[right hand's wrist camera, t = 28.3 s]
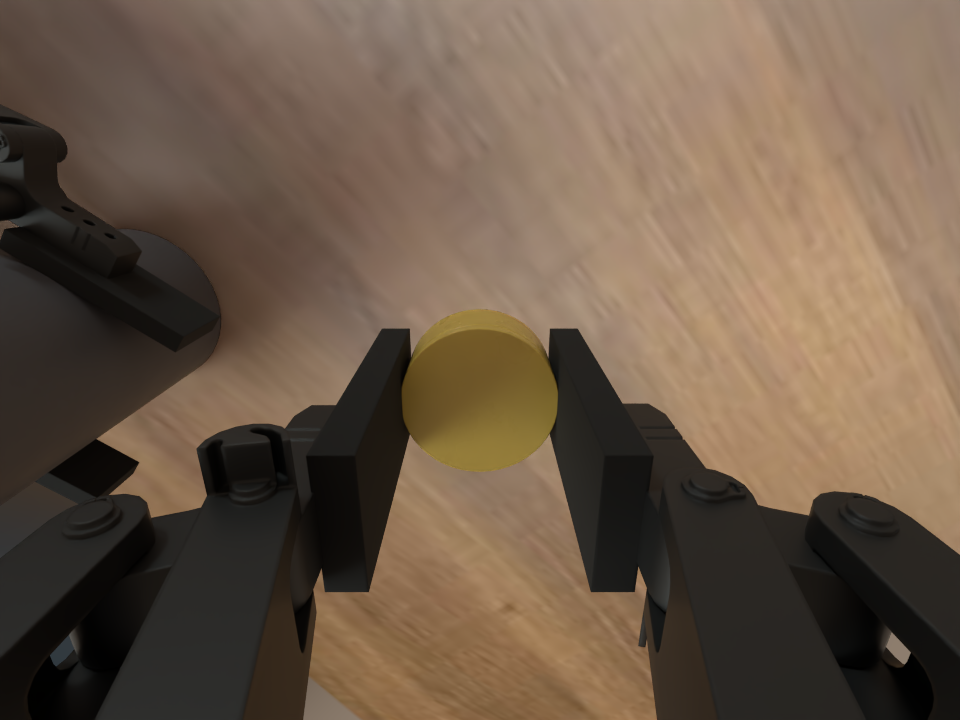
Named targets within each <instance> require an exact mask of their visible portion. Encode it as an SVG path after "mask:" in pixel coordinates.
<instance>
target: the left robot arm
mask: <svg viewBox="0 0 960 720" xmlns="http://www.w3.org/2000/svg"><path fill="white" fill-rule="evenodd" d="M66 155H67V145H66V142H65V140H64V139H63V137H62V136H61V135H60V134H59V133H58V132H56V131H55V130H53V129H51V128H49V127H47V126H45V125H43V124H41V123H39V122H37V121H34V120H32V119H30V118H28V117H26V116H24V115H22V114H20V113H17V112H15V111H13V110H11V109H9V108H7V107H5V106H3V105H1V104H0V221H4V220H9V221H11V222H12V223H14V224H16V225H17V226H19V227H16V228H8V229H4V232H3V235H2V237H1V240H0V249H2V250H3V251H5V252H7V253H8V254H10V255H12V256H13V257H15V258H17V259H18V260H20V261H22V262H23V263H25V264H27V265H29V266H30V267H32V268H34V269H35V270H37V271H39V272H40V273H42V274H44V275H45V276H47V277H49V278H50V279H52V280H54V281H56V282H57V283H59V284H61V285H62V286H64V287H66V288H67V289H69V290H71V291H72V292H74V293H76V294H77V295H79V296H81V297H82V298H84V299H86V300H88V301H89V302H91V303H93V304H94V305H96V306H98V307H99V308H101V309H103V310H104V311H106V312H108V313H109V314H111V315H113V316H115V317H116V318H118V319H120V320H121V321H123V322H125V323H126V324H128V325H130V326H131V327H133V328H135V329H136V330H138V331H140V332H142V333H143V334H145V335H147V336H148V337H150V338H152V339H153V340H155V341H157V342H158V343H160V344H162V345H163V346H165V347H167V348H168V349H170V350H172V351H174V352H175V353H176V352H177V351H179V350H181V349H182V348H184V347H186V346H187V345H189V344H191V343H192V342H194V341H196V340H197V339H199V338H201V337H202V336H204V335H206V334H207V333H209V332H211V331H212V330H213V329H214V327H215V325H216V323H217V321H218V320H219V318H220V316H219V315H217V314H216V313H214V312H213V311H211V310H209V309H208V308H206V307H205V306H203V305H201V304H200V303H198V302H196V301H195V300H193V299H192V298H190V297H188V296H187V295H185V294H184V293H182V292H180V291H179V290H177V289H176V288H174V287H172V286H171V285H169V284H167V283H166V282H164V281H163V280H161V279H159V278H158V277H156V276H155V275H153V274H151V273H150V272H148V271H147V270H145V269H143V268H142V267H140V266H138V265H137V264H136V263H137V261H138V259H139V257H140V255H141V253H142V250H141V249H140V248H139V247H138V246H137V244H136V243H135V242H134V241H133V240H132V239H131V238H130V237H128V236H126V235H125V234H123V233H122V232H120V231H118V230H116V229H115V228H114V227H112V226H110V225H109V224H106V223H105V222H104V221H103V220H101V219H99V218H98V217H96V216H95V215H93V214H91V213H90V212H88V211H87V210H85V209H83V208H82V207H80V206H79V205H77V204H76V203H74V202H72V201H71V200H70V199H68V198H67V197H66V195H65V193H64V191H63V190H62V189H61V188H60V186H59V184H58V179H57V163H59V162H61V161H63V160H64V159H65V158H66ZM138 464H139V462H138V461H136V460H134V459H132V458H130V457H128V456H127V455H125V454H123V453H121V452H119V451H117V450H116V449H114V448H112V447H110V446H108V445H106V444H104V443H103V442H101V441H99V440H97V439H95V440H94V441H92V442H91V443H89V444H88V445H87V446H85V447H84V448H82V449H81V450H79V451H78V452H77V453H75V454H74V455H72V456H71V457H69V458H68V459H66V460H65V461H64V462H62V463H61V464H59V465H58V466H56V467H55V468H54V469H52V470H51V471H49V472H48V473H46V474H45V475H44V476H42V477H41V478H39V479H38V480H36V481H35V482H37V483H39V484H41V485H43V486H44V487H46V488H48V489H50V490H52V491H54V492H56V493H58V494H60V495H62V496H64V497H66V498H68V499H70V500H72V501H74V502H76V503H78V504H80V503H82V502H83V501H86V500H89V499H92V498H98V497H100V496H105V495H109V494H110V493H111V492H112V491H114V490H115V489H116V488H117V487H118V486H119V485H121V484H122V483H123V482H124V481H125V480H126V479H127V478H129V477H130V476H131V475H132V474H133V473H134V471H135V469H136V467H137V466H138Z"/></svg>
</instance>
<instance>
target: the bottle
mask: <svg viewBox="0 0 960 720" xmlns="http://www.w3.org/2000/svg"><path fill="white" fill-rule="evenodd" d="M116 230H118V231H120V232H122V233H123V234H125V235H126V236H128V237H130V238H131V239H132V240H133V241H134V242H135V243H136V244H137V246H138V247H139V248H140V249H141V250H142V253H141V255H140V257H139V259H138V261H137V263H136V264H137V265H138V266H140V267H142V268H143V269H145V270H147V271H148V272H150V273H151V274H153V275H155V276H156V277H158V278H159V279H161V280H163V281H164V282H166V283H167V284H169V285H171V286H172V287H174V288H176V289H177V290H179V291H180V292H182V293H184V294H185V295H187V296H188V297H190V298H192V299H193V300H195V301H196V302H198V303H200V304H201V305H203V306H205V307H206V308H208V309H209V310H211V311H213V312H214V313H216V314H217V315H219V316H220V309H219V304H218V300H217V297H216V294H215V292H214V289H213V287H212V285H211V283H210V282H209V280H208V278H207V277H206V275H205V274H204V272H203V271H202V269H201V268H200V267H199V266H198V265H197V264H196V263H195V261H194V260H193V259H192V258H191V257H189V256H188V255H187V254H186V253H185V252H184V251H182V250H181V249H180V248H178V247H177V246H176V245H174V244H172V243H170V242H169V241H167V240H165V239H163V238H161V237H158V236H156V235H154V234H150V233H147V232H144V231H139V230H133V229H116ZM220 326H221V316H220V318H219V320H218V321H217V323H216V325H215V327H214V329H213V330H212V331H211V332H209V333H207V334H206V335H204V336H202V337H201V338H199V339H197V340H196V341H194V342H192V343H191V344H189V345H187V346H186V347H184V348H182V349H181V350H179V351H177V352H176V353H175V352H174V351H172V350H170V349H168V348H167V347H165V346H163V345H162V344H160V343H158V342H157V341H155V340H153V339H152V338H150V337H148V336H147V335H145V334H143V333H142V332H140V331H138V330H136V329H135V328H133V327H131V326H130V325H128V324H126V323H125V322H123V321H121V320H120V319H118V318H116V317H115V316H113V315H111V314H109V313H108V312H106V311H104V310H103V309H101V308H99V307H98V306H96V305H94V304H93V303H91V302H89V301H88V300H86V299H84V298H82V297H81V296H79V295H77V294H76V293H74V292H72V291H71V290H69V289H67V288H66V287H64V286H62V285H61V284H59V283H57V282H56V281H54V280H52V279H50V278H49V277H47V276H45V275H44V274H42V273H40V272H39V271H37V270H35V269H34V268H32V267H30V266H29V265H27V264H25V263H23V262H22V261H20V260H18V259H17V258H15V257H13V256H12V255H10V254H8V253H7V252H5V251H3V250H2V249H0V506H1V505H2V504H3V503H5V502H6V501H8V500H9V499H11V498H12V497H13V496H15V495H16V494H18V493H19V492H21V491H22V490H23V489H25V488H26V487H28V486H29V485H31V484H32V483H33V482H35V481H36V480H38V479H39V478H41V477H42V476H44V475H45V474H46V473H48V472H49V471H51V470H52V469H54V468H55V467H56V466H58V465H59V464H61V463H62V462H64V461H65V460H66V459H68V458H69V457H71V456H72V455H74V454H75V453H77V452H78V451H79V450H81V449H82V448H84V447H85V446H87V445H88V444H89V443H91V442H92V441H94V440H95V439H97V438H98V437H99V436H101V435H102V434H104V433H105V432H107V431H108V430H109V429H111V428H112V427H114V426H115V425H117V424H118V423H120V422H121V421H122V420H124V419H125V418H127V417H128V416H130V415H131V414H132V413H134V412H135V411H137V410H138V409H140V408H141V407H142V406H144V405H145V404H147V403H148V402H150V401H151V400H152V399H154V398H155V397H157V396H158V395H160V394H161V393H163V392H164V391H165V390H167V389H168V388H170V387H171V386H173V385H174V384H175V383H177V382H178V381H180V380H181V379H183V378H184V377H185V376H187V375H188V374H190V373H191V372H193V371H194V370H195V369H197V368H198V367H199V366H201V365H202V364H203V363H204V362H205V361H206V360H207V359H208V358H209V356H210V355H211V354H212V352H213V350H214V348H215V346H216V344H217V341H218V338H219V333H220Z"/></svg>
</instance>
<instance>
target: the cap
mask: <svg viewBox="0 0 960 720" xmlns="http://www.w3.org/2000/svg"><path fill="white" fill-rule="evenodd" d="M401 391H402V409H403V419H404V423H405V425H406V427H407V429H408V431H409V433H410V435H411V436H412V438H413V439H414V441H415V442H416V443H417V444H418V445H419V446H420V448H422V449H423V450H424V451H425V452H426V453H427V454H428V455H430V456H431V457H433V458H434V459H436V460H437V461H439V462H441V463H443V464H445V465H448V466H450V467H453V468H457V469H461V470H466V471H477V472H483V471H493V470H499V469H503V468H506V467H509V466H512V465H514V464H516V463H518V462H520V461H522V460H524V459H525V458H527V457H528V456H530V455H531V454H532V453H533V452H535V451H536V450H537V449H538V448H539V447H540V446H541V445H542V443H543V442H544V441H545V440H546V438H547V437H548V435H549V433H550V432H551V430H552V428H553V426H554V423H555V421H556V417H557V403H558V387H557V382H556V379H555V376H554V373H553V370H552V368H551V365H550V362H549V359H548V356H547V354H546V351H545V349H544V347H543V345H542V343H541V342H540V340H539V339H538V337H537V336H536V335H535V334H534V333H533V331H532V330H531V329H530V328H528V327H527V326H526V325H525V324H524V323H522V322H520V321H519V320H517V319H516V318H514V317H511V316H509V315H507V314H504V313H501V312H498V311H492V310H481V309H477V310H467V311H462V312H458V313H455V314H452V315H450V316H448V317H446V318H444V319H442V320H440V321H439V322H437V323H436V324H434V325H433V326H432V327H431V328H430V329H429V330H428V331H427V332H426V333H425V334H424V335H423V336H422V338H421V339H420V341H419V342H418V344H417V345H416V348H415V350H414V352H413V354H412V357H411V360H410V363H409V365H408V368H407V371H406V374H405V377H404V380H403V383H402V388H401Z"/></svg>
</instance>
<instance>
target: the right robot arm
mask: <svg viewBox="0 0 960 720" xmlns="http://www.w3.org/2000/svg"><path fill="white" fill-rule="evenodd" d="M548 359H549V362H550V365H551V368H552V370H553V373H554V376H555V379H556V382H557V387H558V403H557V417H556V421H555V423H554V426H553V428H552V430H551V432H550V437H551V441H552V444H553V448H554V452H555V456H556V460H557V464H558V467H559V471H560V475H561V479H562V483H563V487H564V490H565V494H566V498H567V502H568V506H569V510H570V513H571V517H572V521H573V525H574V529H575V533H576V537H577V540H578V544H579V548H580V552H581V556H582V560H583V563H584V567H585V571H586V575H587V579H588V583H589V586H590V590H591V592H635V586H636V579H637V572H638V566H639V569H640V571H641V574H642V577H643V579H644V582H645V584H646V587H647V591H646V598H645V605H644V611H643V618H642V624H641V631H640V638H639V645H638V646H641V647H645V646H646V640H647V643H648V651H649V659H650V667H651V675H652V683H653V691H654V699H655V707H656V714H657V720H960V555H959V554H958V553H957V552H955V551H954V550H953V549H951V548H950V547H949V546H948V545H946V544H945V543H944V542H942V541H941V540H940V539H938V538H937V537H936V536H935V535H933V534H932V533H931V532H929V531H928V530H927V529H925V528H924V527H923V526H922V525H920V524H919V523H918V522H916V521H915V520H914V519H912V518H911V517H909V516H908V515H906V514H905V513H903V512H901V511H900V510H898V509H897V508H895V507H893V506H891V505H888V504H886V503H884V502H881V501H879V500H878V499H876V498H873V497H870V496H867V495H865V496H863V495H862V494H858V493H847V492H835V491H834V492H829V493H823V494H820V495H819V496H818V497H816V498H815V499H814V500H813V503H812V507H811V511H810V514H809V516H808V515H803V514H798V513H793V512H787V511H782V510H777V509H772V508H768V507H764V506H760V505H758V504H757V502H756V500H755V498H754V496H753V495H752V493H751V492H750V491H749V490H748V489H747V487H746V486H745V485H744V484H742V483H741V482H739V481H737V480H736V479H734V478H733V477H731V476H729V475H726V474H723V473H721V472H718V471H716V470H711V469H706V468H705V466H704V465H703V464H702V462H701V461H700V460H699V458H698V457H697V456H696V454H695V453H694V452H693V450H692V449H691V448H690V446H689V445H688V444H687V442H686V441H685V440H683V439H682V436H681V434H680V433H679V432H678V430H677V429H675V426H674V425H673V424H672V422H671V421H670V420H669V418H668V417H667V416H666V414H664V413H663V412H661V411H659V410H658V409H656V408H654V407H653V406H651V405H650V404H622V402H621V400H620V399H619V397H618V395H617V394H616V392H615V390H614V389H613V387H612V385H611V384H610V382H609V380H608V379H607V377H606V375H605V374H604V372H603V370H602V369H601V367H600V365H599V364H598V362H597V360H596V359H595V357H594V355H593V354H592V352H591V350H590V349H589V347H588V345H587V344H586V342H585V340H584V339H583V337H582V335H581V334H580V332H579V330H578V329H550V338H549V358H548ZM410 360H411V345H410V329H382V330H381V331H380V333H379V335H378V336H377V338H376V340H375V341H374V343H373V345H372V346H371V348H370V350H369V351H368V353H367V355H366V356H365V358H364V360H363V361H362V363H361V365H360V366H359V368H358V370H357V371H356V373H355V375H354V376H353V378H352V380H351V381H350V383H349V385H348V386H347V388H346V390H345V391H344V393H343V395H342V396H341V398H340V400H339V401H338V403H337V405H311V406H310V407H308V408H307V409H305V410H303V411H302V412H300V413H299V414H297V415H295V416H294V417H293V419H292V420H291V421H290V423H289V424H288V425H287V427H286V428H285V429H284V428H283V427H281V426H277V425H272V424H250V425H244V426H238V427H234V428H231V429H228V430H225V431H222V432H219V433H217V434H215V435H213V436H212V437H210V438H208V439H206V440H205V441H204V442H203V443H202V444H201V445H200V446H199V447H198V448H197V454H198V458H199V462H200V467H201V471H202V475H203V480H204V484H205V488H206V493H207V497H206V499H205V501H204V503H203V505H202V507H201V508H197V509H193V510H190V511H185V512H179V513H174V514H169V515H164V516H159V517H154V518H151V516H150V512H149V509H148V505H147V502H146V501H144V500H143V499H142V498H141V497H140V496H135V495H129V494H118V495H105V496H100V497H98V498H92V499H89V500H86V501H83V502H82V503H80V504H78V505H76V506H73V507H71V508H69V509H66V510H65V511H63V512H62V513H60V514H58V515H57V516H55V517H54V518H52V519H50V520H49V521H47V522H46V523H45V524H44V525H42V526H41V527H40V528H38V529H37V530H36V531H35V532H33V533H32V534H31V535H29V536H28V537H27V538H26V539H24V540H23V541H22V542H20V543H19V544H18V545H17V546H15V547H14V548H13V549H11V550H10V551H9V552H8V553H6V554H5V555H4V556H2V557H1V558H0V720H303V716H304V708H305V700H306V692H307V684H308V676H309V668H310V660H311V652H312V644H313V636H314V628H315V620H316V605H315V598H314V592H313V588H314V586H315V583H316V581H317V578H318V576H319V573H320V571H321V568H322V574H323V581H324V588H325V592H369V589H370V585H371V581H372V577H373V574H374V570H375V566H376V562H377V558H378V554H379V551H380V547H381V543H382V539H383V535H384V531H385V528H386V524H387V520H388V516H389V512H390V508H391V505H392V501H393V497H394V493H395V489H396V485H397V481H398V478H399V474H400V470H401V466H402V462H403V458H404V455H405V451H406V447H407V443H408V439H409V435H410V433H409V431H408V429H407V427H406V425H405V423H404V419H403V409H402V391H401V388H402V383H403V380H404V377H405V374H406V371H407V368H408V365H409V363H410ZM891 632H892V633H893V634H894V635H895V636H896V637H897V638H898V639H899V640H900V641H901V642H902V643H903V644H904V646H905V647H906V648H907V649H908V650H909V651H910V652H911V654H910V656H909V659H908V661H907V663H906V664H905V665H904V664H902V663H901V662H900V661H899V660H898V659H897V658H895V657H894V656H893V654H892V653H891V652H890V651H889V650H888V649H887V648H886V645H887V643H888V640H889V638H890V635H891ZM68 635H69V636H70V639H71V641H72V644H73V646H74V650H73V652H72V653H71V654H70V655H69V656H68V657H67V658H66V659H65V660H64V661H63V662H61V663H60V664H59V665H58V666H55V665H54V664H53V662H52V660H51V657H50V654H51V653H52V652H53V651H54V650H55V649H56V648H57V647H58V646H59V645H60V644H61V643H62V642H63V640H64V639H65V638H66V637H67V636H68Z"/></svg>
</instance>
